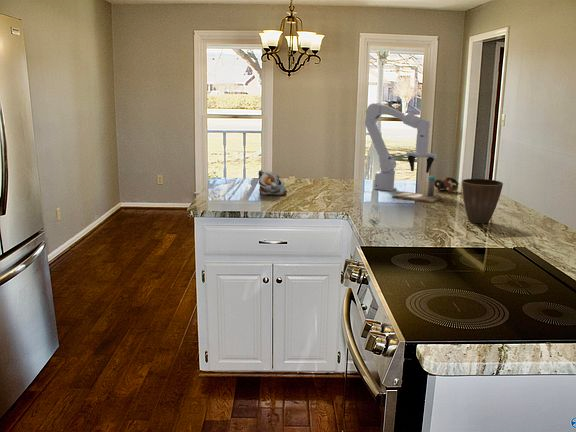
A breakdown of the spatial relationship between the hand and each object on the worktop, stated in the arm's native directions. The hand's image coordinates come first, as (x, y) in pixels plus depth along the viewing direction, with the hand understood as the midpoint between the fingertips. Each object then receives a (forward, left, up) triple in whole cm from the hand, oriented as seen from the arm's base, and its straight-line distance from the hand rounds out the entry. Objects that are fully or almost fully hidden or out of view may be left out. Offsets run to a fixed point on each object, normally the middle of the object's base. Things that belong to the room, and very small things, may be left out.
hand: (419, 171), depth 268 cm
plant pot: (+39, -47, -11) cm, 62 cm away
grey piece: (-56, -49, -11) cm, 75 cm away
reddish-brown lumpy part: (+10, +12, -11) cm, 19 cm away
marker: (+10, -12, -9) cm, 17 cm away
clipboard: (+4, -15, -10) cm, 19 cm away
